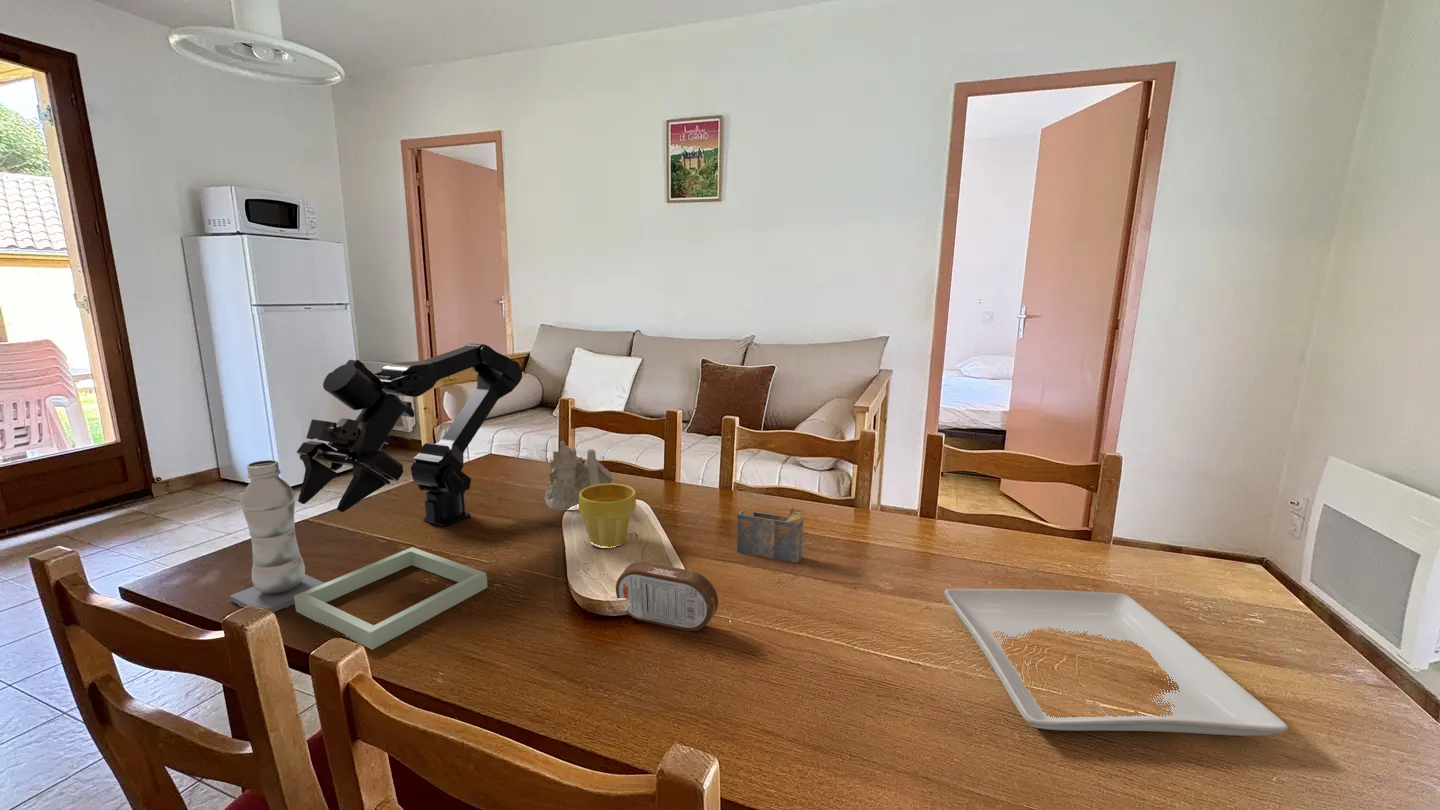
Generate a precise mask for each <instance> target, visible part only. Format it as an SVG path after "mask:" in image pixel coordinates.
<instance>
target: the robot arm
mask: <svg viewBox="0 0 1440 810" xmlns="http://www.w3.org/2000/svg"><path fill="white" fill-rule="evenodd" d="M468 369H472V370H473V371H474V372H475V373H476V374H477V376H476V389H475V390H474V392H473V393H472V394H471V396H470V397H469V399H468V401H467V402H466V403H465V405H463V408H462V409H461V410H460V412H459V413H458V415H457V416H456V418H455V419H454V420H453V422H452V423H451V425H450V426H449V428H448V430H446V432H445V433H444V435H443V437H442V438H440V440H439V441H438V442H436V443H431V442H425V443H424V444H423V445H422V447H421V448H420V450H419V452H417V454H416V455H415V456H414V457H413V458H412V460H413V463H412V464H411V466H410V472H411V477H412V481H414V483H416V485H417V486H418V489H419V490H420V491H421V492H423V491H425V496H426V497H425V499H426V500H425V501H424V506H425V507H424V509H425V517H423V521H425V522H427V523H431V524H434V525H436V526H437V525H438V526H441V527H446V526H449V525H452V524H455V523H457V522H460V521H463V520H464V519H467V518H469V517H471V516H472V514H471V513H470V512H466V505H465V504H466V503H465V492H466V491H468V490H470V488H471V482H472V479H471V477H470V476H469V475H467V474H466V473H465V472H464V471H462V470H463V468H464V453H465V451H466V450H467V447H469V445H470V443H471V442H472V440H473V439H474V438H475V436H476V434H477V432H478V431H479V429H480V428H481V426H482V425H483V423H484V422H485V420H486V419H487V417H488V416H489V414H490V413H491V412H492V410H493V408H494V407H495V405H496V404H497V402H499V400H500V399H501V398H503V397H505V396H506V395H509V394H510V393H511V392H513V390H515V389H516V387H517V386H518V385H519V383H521V380H522V379H523V369H522V367H521V365H520V363H519V362H517V360H512V358H509V357H508V356H506V355H503V354H502V353H500V352H498V351H496V350H494V349H493V348H492V347H490V346H489V345H487V344H485V343H467V344H465V345H463V346H462V347H459V348H457V349H453V350H450V351H447V352H444V353H441V354H438V355H436V356H433V357H430V358H427V359H423V360H417V361H412V360H411V361H400V362H392V363H388V364H386V365H384V366H383V367H382V368H381V370H380V371H377V372H374V373H373V372H372V371H370V370H369V369H368V368H367V366H366V365H365V364H364V363H363V362H362V361H360V360H359V359H352V358H351V359H348V360H347V361H346V364H342V365H340V366H338V367H337V368H335V369H334V370H333V371H331V372H329V373H328V374H327V375H326V376H325V378H324V380H323V383H322V387H323V389H324V391H326V392H327V393H328V394H330V395H331V396H333V397H334V398H335V399H337V401H339V402H341V403H342V404H343V405H345V406H346V407H348V409H351V410H353V411H359V410H361V411H360V412H359V414H358V415H357V417H356V418H355V419H352V418H351V419H350V418H345V417H344V418H343V417H342V418H340V419H339V420H338V421H337V422H334V421H327V420H321V419H314V418H313V419H311V422H310V425H309V428H308V431H307V434H306V437H305V438H306V439H308V440H309V441H308V440H307V441H304V442H302V444H301V445H300V447H298V449H297V450H296V453H297V455H299V459H300V460H301V461H302V463H303V466H304V469H305V470H304V475H303V480H302V484H301V488H300V491H299V495H298V500H297V502H298V503H300V504H301V505H305V504H307V503H308V502H309V501H310V500H311V499H313V498H314V497H315V496H316V495H317V494H319V492H320V491H321V490H322V489H323V488H325V486H327V484H329V482H331V481H332V480H334V478H335V477H336V476H337V475H338V472H337V471H338V470H339V469H341V468H342V467H343V465H345V466H350V467H352V479H351V481H350V483H349V484H348V486H347V487H346V489H345V491H344V493H343V494H342V497H341V499H340V500H339V503H338V505H337V507H336V511H338V512H340V513H344V512H346V511H348V510H349V509H351V508H352V507H353V506H355V505H356V504H357V503H359V502H360V501H362V500H364V499H365V498H367V497H369V496H370V495H371V494H373V493H374V492H376V491H378V490H379V489H381V488H383V487H385V486H390V484H391V481H392V482H396V483H397V482H399V480H400V478H401V476H402V474H403V473H404V466H403V464H402V463H401V462H399V461H398V460H396V459H395V458H393V457H392V456H390V455H389V454H387V452H384V451H381V449H382V447H383V446H384V445H390V444H392V441H393V439H392V438H391V437H389V436H390V434H391V433H392V432H393V429H394V428H395V427H396V425H397V424H398V422H399V420H400V419H401V417H406V418H408V417H409V418H414V417H415V415H416V414H415V411H414V409H413V405H412V402H411V401H405V400H404V401H403V400H402V399H401V398H399V397H398V396H404V397H412V398H413V397H414V398H417V397H420V396H422V395H424V394H425V393H427V392H428V391H430V390H431V389H433V388H434V386H435V385H436V383H437V382H438V381H440V380H442V379H445V378H447V377H450V376H452V375H456V374H457V373H461V372H462V371H466V370H468ZM315 440H317V441H315ZM321 441H322V442H321ZM325 442H327V443H325Z"/></svg>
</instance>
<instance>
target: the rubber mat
mask: <svg viewBox="0 0 1440 810" xmlns="http://www.w3.org/2000/svg"><path fill="white" fill-rule="evenodd" d="M324 583H325V581H321V580H319V579H317V578H314V577H312V576H310V575H308V574H306V573H305V576H304V579H303V580H302V582H301V583H300V585H298V586H297V587H295V588H293V589H291V590H289V591H285V592H282V593H277V594H263V593H260V592H259V591H258V590H256V589H255V587H254V585H253V586H251V587H249V588H246V589H243V590H241V591H237V592H235V593H232V594H230V595H229V598H230V599H229V600H230V602H231V601H233V602H234V603H233V602H232V603H233V604H235V603H236V604H238V605H237V606H238V607H241V608H242V607H244V606H248V605H253V606H259V607H262V608H266V609H268V610H271V611H273V612H274V611H277V609H278V610H279V609H283V608H285V609H288V608H289V606H290V607H292V606H295V601H294V596H295V595H297V594H300V593H302V592H304V591H307V590H309V589H312V588H314V587H317V586H319V585H321V584H324ZM236 604H235V605H236ZM291 605H292V606H291ZM283 610H284V609H283Z"/></svg>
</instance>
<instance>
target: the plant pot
mask: <svg viewBox="0 0 1440 810" xmlns="http://www.w3.org/2000/svg"><path fill="white" fill-rule="evenodd" d="M636 505H637V492H636V490H635V489H634V488H633V486H629V485H628V484H627V485H626V484H623V483H613V482H611V483H606V484H597V485H592V486H589V487H586V488H584V489H583V490H581V491H580V493H579V510H578V511H579V513H580V514H581V515H583V519H584V522H585V527H586V531H587V535H588V539H590V540H589V542H590V541H591V542H593V543H594V544H597V545H600V546H606V547H607V546H608V547H611V546H612V547H613V546H617V545H620V544H623V543H624V542H625V541H627V537H628V532H629V528H630V523H631V518H632V514H633V513H634V511H636ZM625 543H626V542H625ZM625 543H624V544H625ZM624 544H623V545H624Z"/></svg>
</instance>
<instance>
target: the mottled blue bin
mask: <svg viewBox="0 0 1440 810" xmlns="http://www.w3.org/2000/svg"><path fill="white" fill-rule="evenodd" d="M803 510H804V507H802V508H796V507H793V505H791V508H789V515H788V516H786V515H785V516H784V515H780V514H779V515H778V514H772V513H766V512H759V511H753V515H746V514H745V510H744V509H742V510H740V511H739V513H737V537H736V540H737V541H736V553H738V552H740V553H739V554H743V553H747V554H746V555H749V554H753V555H752V556H754V555H757V556H756V557H760V556H763V557H762V558H765V557H769V558H768V559H771V558H773V559H772V560H776V559H780V560H779V561H782V560H786V561H785V562H787V561H794V562H799V561H800V562H801V560H802V558H801V557H803V541H804V538H803V537H804V523H805V522H804V521H805V520H804V518H802V515H803ZM800 559H801V560H800ZM800 562H799V563H800Z"/></svg>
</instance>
